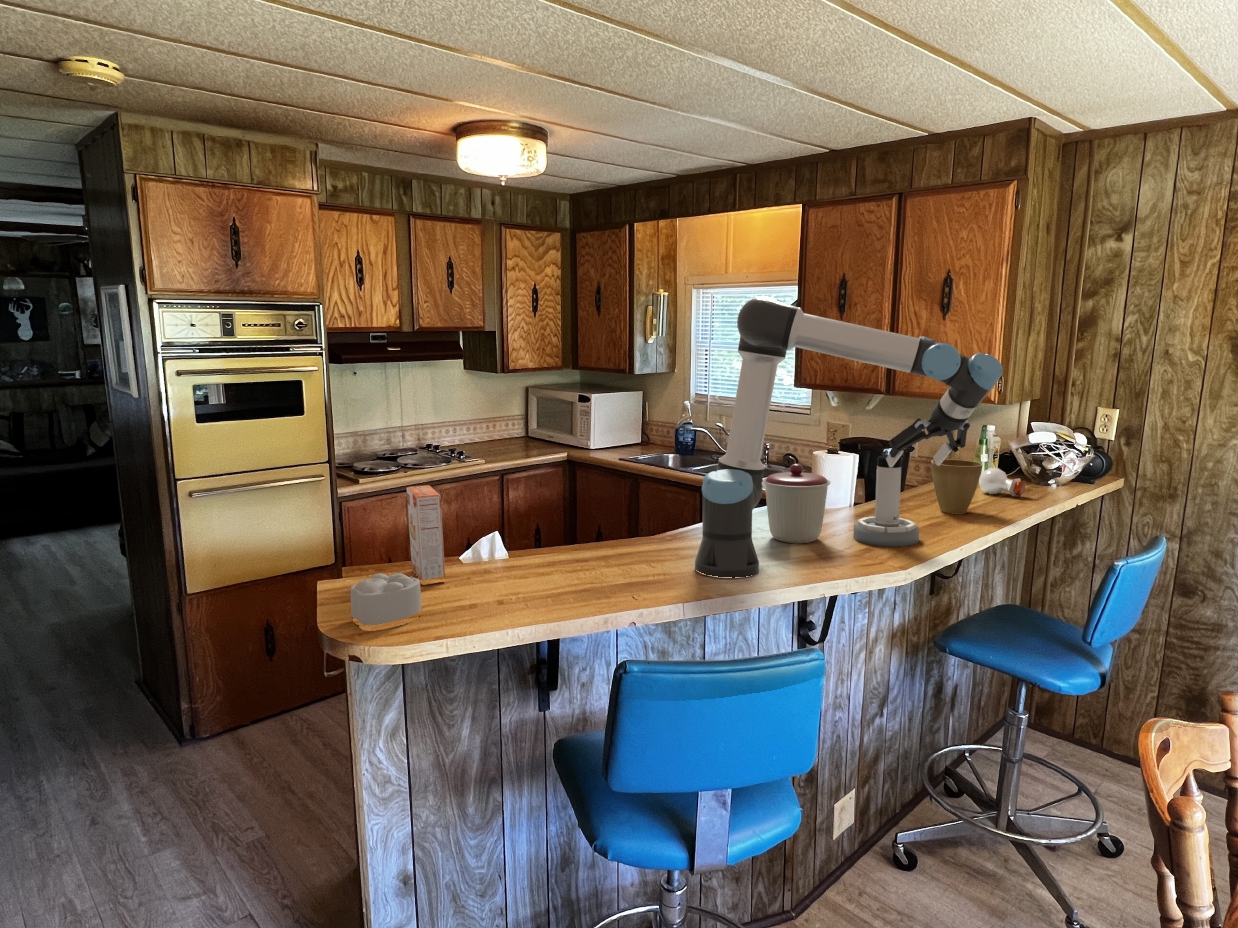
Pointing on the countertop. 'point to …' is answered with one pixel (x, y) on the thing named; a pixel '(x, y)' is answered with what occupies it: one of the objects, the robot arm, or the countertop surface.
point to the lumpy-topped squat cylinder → (385, 598)
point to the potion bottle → (1000, 483)
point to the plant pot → (955, 484)
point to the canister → (796, 504)
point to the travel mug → (887, 493)
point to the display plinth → (886, 533)
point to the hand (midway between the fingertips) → (912, 462)
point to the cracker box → (425, 532)
